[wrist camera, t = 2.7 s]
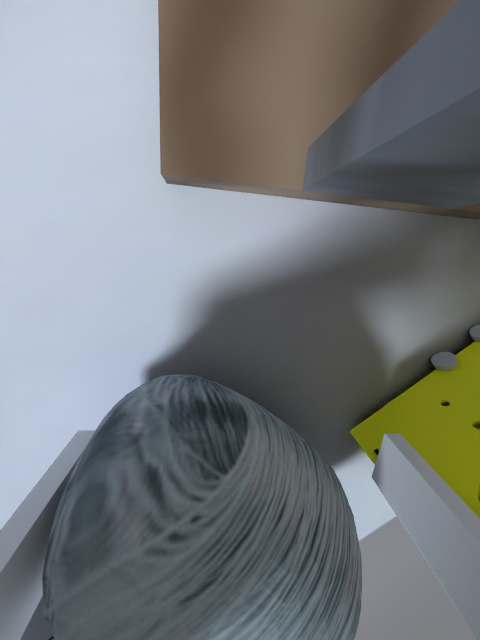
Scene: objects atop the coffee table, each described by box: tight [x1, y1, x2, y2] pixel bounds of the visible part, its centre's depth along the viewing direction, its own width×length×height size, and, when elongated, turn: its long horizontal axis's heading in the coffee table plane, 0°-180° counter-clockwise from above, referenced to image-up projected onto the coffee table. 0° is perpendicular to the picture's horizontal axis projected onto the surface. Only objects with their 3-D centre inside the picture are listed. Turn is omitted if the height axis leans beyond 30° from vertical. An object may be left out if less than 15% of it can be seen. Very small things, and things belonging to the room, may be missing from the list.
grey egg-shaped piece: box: [42, 374, 362, 640], centre depth 10 cm, size 14×10×10 cm
